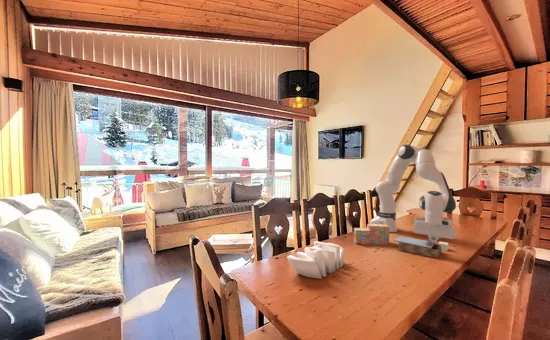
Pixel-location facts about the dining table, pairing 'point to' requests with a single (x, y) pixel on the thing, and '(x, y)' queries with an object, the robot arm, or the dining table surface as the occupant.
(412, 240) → the lid
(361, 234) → the stack of blocks
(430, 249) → the box
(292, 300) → the dining table surface
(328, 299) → the dining table surface
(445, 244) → the cube
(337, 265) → the wavy white extrusion
